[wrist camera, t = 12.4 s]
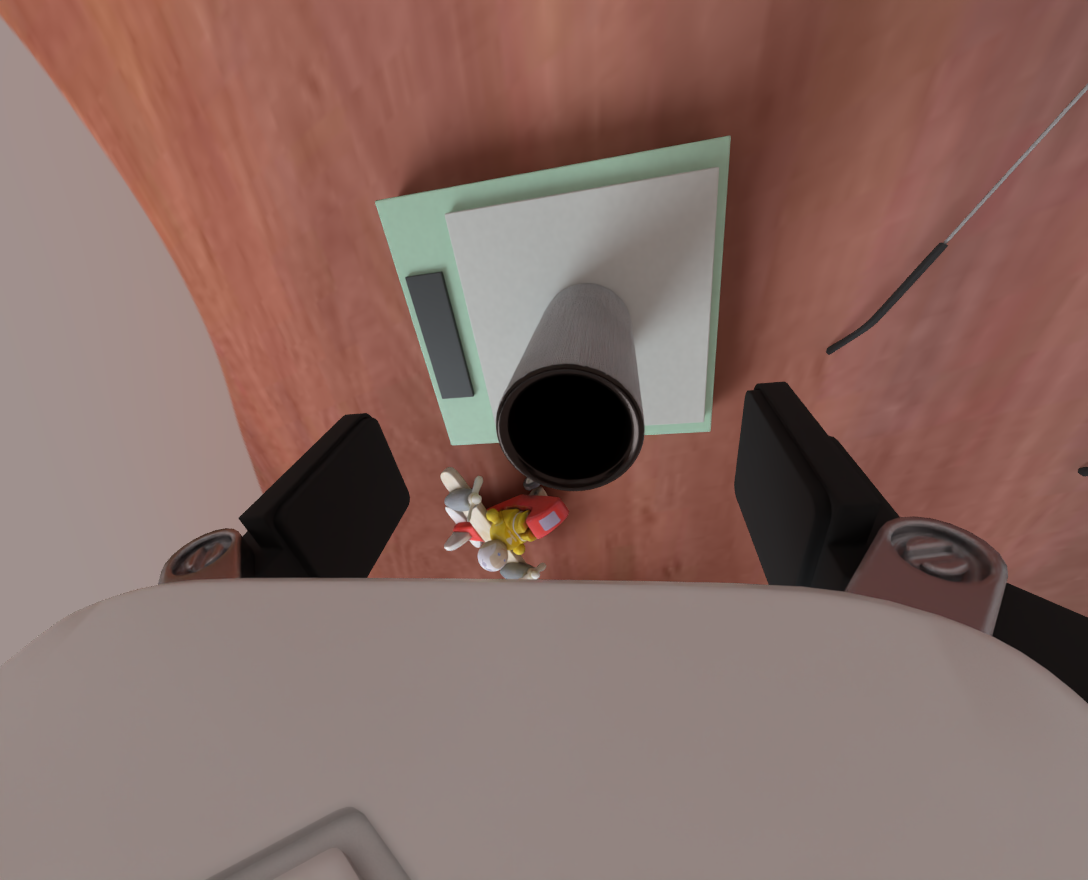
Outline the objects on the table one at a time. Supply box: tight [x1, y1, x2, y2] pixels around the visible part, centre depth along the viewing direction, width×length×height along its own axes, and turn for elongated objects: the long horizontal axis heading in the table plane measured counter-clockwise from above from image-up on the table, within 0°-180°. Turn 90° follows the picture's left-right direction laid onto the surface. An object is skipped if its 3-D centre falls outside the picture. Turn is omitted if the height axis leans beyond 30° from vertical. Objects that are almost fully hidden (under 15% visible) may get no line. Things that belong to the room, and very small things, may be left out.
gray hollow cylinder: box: [496, 283, 645, 491], centre depth 17 cm, size 4×4×10 cm
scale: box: [375, 136, 731, 445], centre depth 23 cm, size 14×16×3 cm
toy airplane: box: [441, 467, 569, 579], centre depth 30 cm, size 9×9×6 cm
